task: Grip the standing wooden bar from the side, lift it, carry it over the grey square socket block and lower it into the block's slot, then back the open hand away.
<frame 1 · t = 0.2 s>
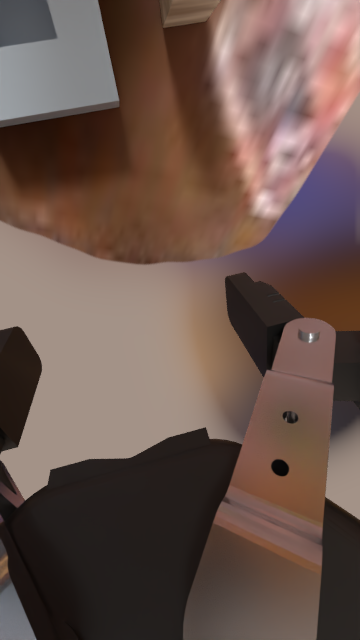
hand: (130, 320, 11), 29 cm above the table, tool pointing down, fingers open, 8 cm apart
wooden bar: (182, 2, 27), on the table
grey square socket block: (24, 26, 26), on the table
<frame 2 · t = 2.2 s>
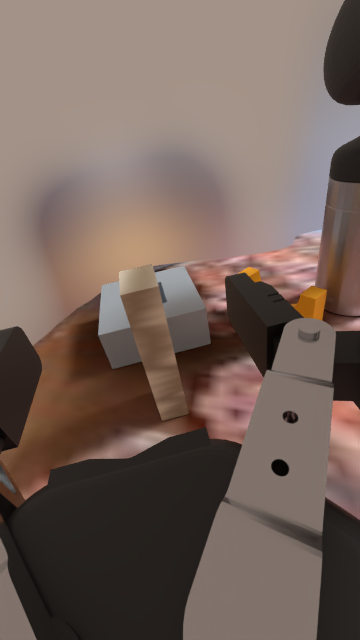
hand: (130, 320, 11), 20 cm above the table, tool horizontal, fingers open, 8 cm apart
wooden bar: (172, 401, 32), on the table
pipe clamp: (272, 323, 41), on the table
grey square socket block: (156, 327, 45), on the table
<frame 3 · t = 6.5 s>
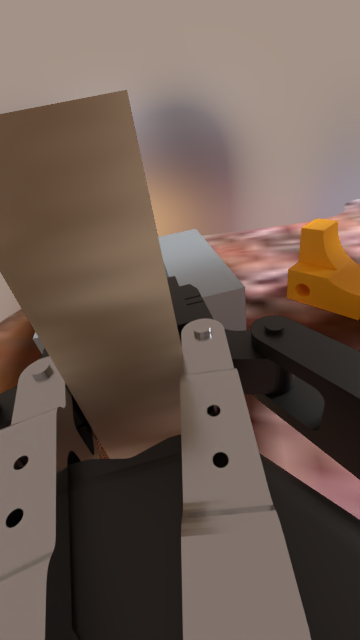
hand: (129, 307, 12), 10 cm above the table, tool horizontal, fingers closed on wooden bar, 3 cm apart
wooden bar: (179, 482, 15), on the table, touching gripper
grey square socket block: (151, 325, 27), on the table
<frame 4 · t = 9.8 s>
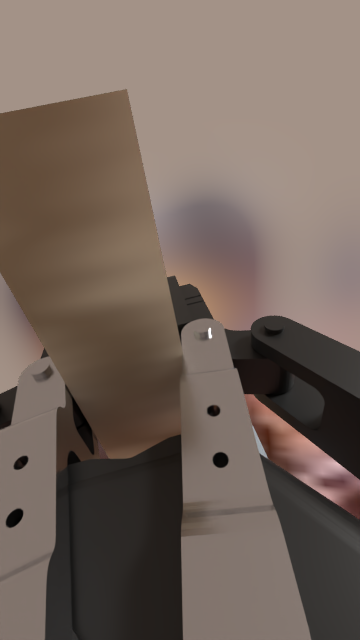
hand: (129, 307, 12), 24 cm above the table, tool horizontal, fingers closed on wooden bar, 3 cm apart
wooden bar: (179, 482, 15), point 14 cm above the table, touching gripper
when the fingers open (12 cm above the table, at t = 13.0 s): wooden bar drops 1 cm, resting on grey square socket block.
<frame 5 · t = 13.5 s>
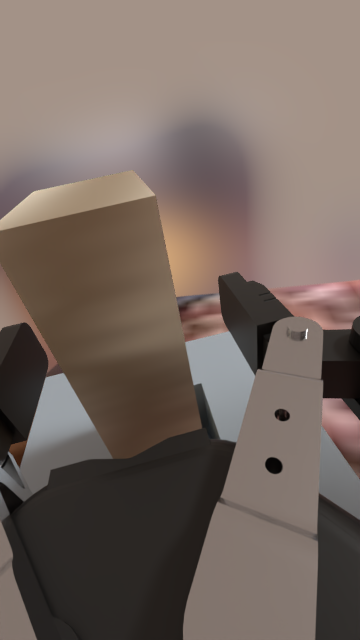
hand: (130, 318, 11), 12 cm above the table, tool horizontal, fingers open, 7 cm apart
wooden bar: (183, 493, 16), point 1 cm above the table, touching grey square socket block
grey square socket block: (185, 503, 16), on the table
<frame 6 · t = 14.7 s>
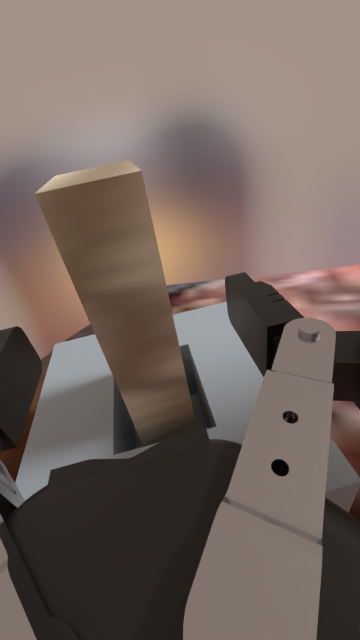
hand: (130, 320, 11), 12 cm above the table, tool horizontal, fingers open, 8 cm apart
wooden bar: (173, 437, 19), point 1 cm above the table, touching grey square socket block
grey square socket block: (175, 447, 19), on the table
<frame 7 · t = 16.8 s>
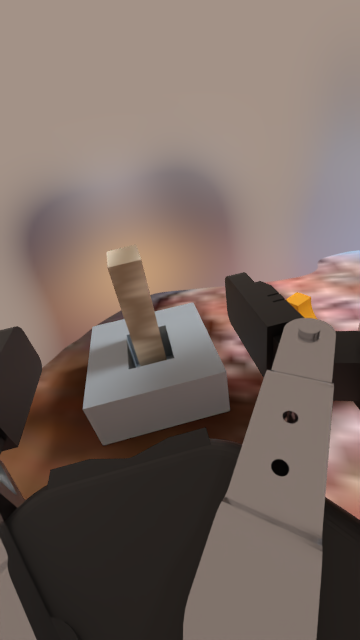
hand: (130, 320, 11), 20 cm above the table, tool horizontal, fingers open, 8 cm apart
wooden bar: (157, 375, 35), point 1 cm above the table, touching grey square socket block
pipe clamp: (326, 360, 35), on the table
grey square socket block: (159, 381, 36), on the table
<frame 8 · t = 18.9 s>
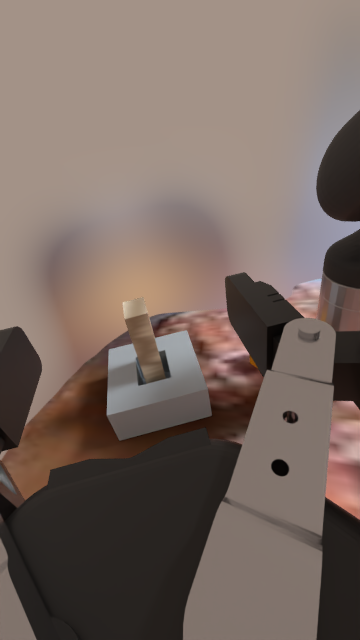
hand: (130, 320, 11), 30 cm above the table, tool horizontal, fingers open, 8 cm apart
wooden bar: (159, 387, 47), point 1 cm above the table, touching grey square socket block
grey square socket block: (160, 392, 47), on the table
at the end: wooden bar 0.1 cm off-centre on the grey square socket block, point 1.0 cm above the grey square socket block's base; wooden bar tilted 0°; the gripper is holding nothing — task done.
